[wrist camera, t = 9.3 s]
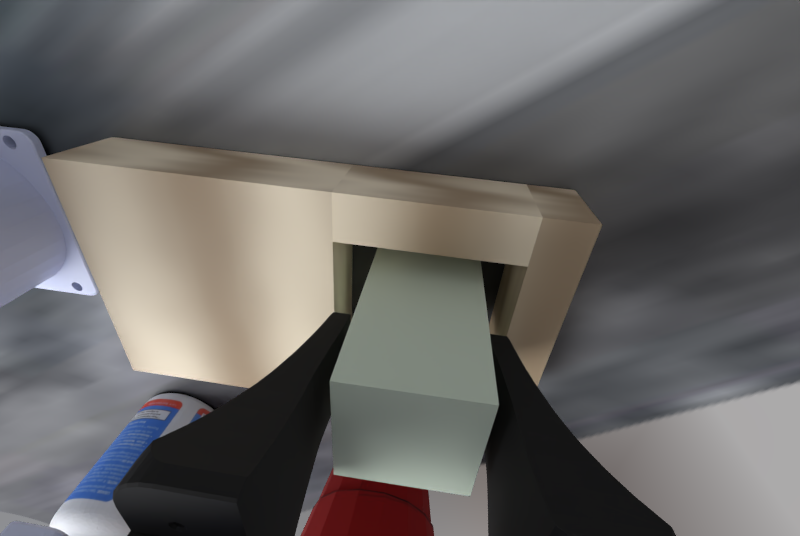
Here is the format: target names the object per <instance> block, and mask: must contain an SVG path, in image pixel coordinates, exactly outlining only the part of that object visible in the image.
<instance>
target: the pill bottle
mask: <svg viewBox="0 0 800 536" xmlns="http://www.w3.org/2000/svg"><path fill="white" fill-rule="evenodd" d="M212 411H213V409H212V408H211V407H210V406H208V405H207V404H205V403H203V402H202V401H200V400H198V399H196V398H193V397H190V396H187V395H183V394H178V393H165V394H160V395H157V396H154V397H152V398H151V399H150V400H148V401H147V402H146V403H145V405H144V406H143V407H142V408H141V409H140V410H139V411H138V413H137V414H136V415H135V416H134V418H133V419H132V420H131V421H130V422H129V424H128V425H127V426H126V427H125V429H124V430H123V431H122V432H121V433H120V435H119V436H118V437H117V438H116V440H115V441H114V442H113V443H112V444H111V446H110V447H109V448H108V449H107V451H106V452H105V453H104V454H103V455H102V457H101V458H100V459H99V460H98V462H97V463H96V464H95V465H94V466H93V468H92V469H91V470H90V471H89V473H88V474H87V475H86V476H85V477H84V479H83V480H82V481H81V482H80V484H79V485H78V486H77V487H76V489H75V490H74V491H73V492H72V493H71V495H70V496H69V497H68V498H67V500H66V501H65V502H64V503H63V505H62V506H61V507H60V508H59V510H58V511H57V512H56V514H55V515H54V517H53V519H52V520H51V523H50V527H52V528H56V529H59V530H61V531H63V532H65V533H66V534H67V535H68V536H127V535H128V534H129V532H130V531H131V530H130V528H129V527H128V525H127V524H126V522H125V521H124V519H123V518H122V516H121V515H120V513H119V512H118V510H117V508H116V507H115V504H114V502H113V491H114V489H115V488H116V487H117V485H118V484H119V483H120V481H121V480H122V479H123V477H124V476H125V475H126V473H127V472H128V471H129V469H130V468H131V466H132V465H133V464H134V462H135V461H136V460H137V459H138V457H139V456H140V455H141V454H142V452H143V451H144V450H145V449H146V448H147V447H148V446H149V445H150V443H151V442H152V441H153V440H155V439H157V438H160V437H162V436H164V435H166V434H168V433H170V432H173V431H175V430H177V429H179V428H181V427H183V426H185V425H188V424H190V423H191V422H193V421H195V420H197V419H199V418H201V417H203V416H205V415H206V414H208V413H210V412H212Z"/></svg>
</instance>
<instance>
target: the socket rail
mask: <svg viewBox="0 0 800 536" xmlns="http://www.w3.org/2000/svg"><path fill="white" fill-rule="evenodd" d="M42 160H43V163H44V165H45V167H46V170H47V172H48V174H49V176H50V179H51V181H52V183H53V186H54V188H55V190H56V193H57V195H58V197H59V200H60V202H61V204H62V206H63V209H64V211H65V213H66V216H67V218H68V220H69V223H70V225H71V227H72V230H73V232H74V234H75V236H76V239H77V241H78V243H79V246H80V248H81V250H82V253H83V255H84V257H85V260H86V262H87V264H88V266H89V269H90V271H91V273H92V276H93V278H94V280H95V283H96V285H97V287H98V289H99V292H100V294H101V296H102V299H103V301H104V303H105V306H106V308H107V310H108V313H109V315H110V317H111V319H112V322H113V324H114V326H115V329H116V331H117V333H118V336H119V338H120V340H121V343H122V345H123V347H124V349H125V352H126V354H127V356H128V359H129V361H130V363H131V366H132V368H133V370H136V371H142V372H149V373H155V374H162V375H168V376H174V377H181V378H187V379H194V380H200V381H207V382H213V383H219V384H226V385H232V386H239V387H245V388H250V387H252V386H253V385H255V384H256V383H257V382H259V381H260V380H261V379H263V378H264V377H265V376H267V375H268V374H269V373H270V372H272V371H273V370H274V369H275V368H277V367H278V366H279V365H280V364H281V363H282V362H284V361H285V360H286V359H287V358H288V357H289V356H290V355H292V354H293V353H294V352H295V351H296V350H297V349H298V348H299V347H300V346H301V345H302V344H303V343H304V342H305V341H306V340H307V339H308V338H309V337H310V336H311V335H312V334H313V333H314V332H315V331H316V330H317V329H318V328H319V327H320V326H321V325H322V324H323V323H324V322H325V320H326V319H327V318H328V317H329V316H330V315H331V314H332V313H333V312H338V313H345V314H351V320H352V257H353V244H354V245H362V246H370V247H378V248H385V249H393V250H401V251H409V252H416V253H424V254H432V255H440V256H448V257H455V258H463V259H471V260H479V261H487V262H494V263H502V264H505V267H504V271H503V275H502V278H501V282H500V286H499V290H498V293H497V297H496V301H495V305H494V308H493V312H492V316H491V320H490V323H489V330H490V334H495V335H502V336H507V337H508V338H509V339H510V341H511V343H512V345H513V347H514V349H515V350H516V352H517V354H518V356H519V358H520V359H521V361H522V363H523V365H524V366H525V368H526V370H527V371H528V373H529V375H530V376H531V378H532V379H533V381H534V382H535V384H536V385H537V386H538V383H539V381H540V378H541V376H542V373H543V371H544V368H545V366H546V363H547V361H548V359H549V356H550V354H551V351H552V349H553V346H554V344H555V341H556V339H557V336H558V334H559V331H560V329H561V326H562V324H563V321H564V319H565V316H566V314H567V311H568V309H569V306H570V304H571V301H572V299H573V296H574V294H575V291H576V289H577V287H578V284H579V282H580V279H581V277H582V274H583V272H584V269H585V267H586V264H587V262H588V259H589V257H590V254H591V252H592V249H593V247H594V244H595V242H596V239H597V237H598V234H599V232H600V229H601V227H602V224H601V222H600V221H599V220H598V219H597V217H596V216H595V215H594V213H593V212H592V211H591V210H590V208H589V207H588V206H587V205H586V203H585V202H584V201H583V200H582V198H581V197H580V196H579V195H578V193H577V192H576V191H575V190H571V189H562V188H553V187H544V186H536V185H527V184H518V183H509V182H501V181H492V180H483V179H475V178H466V177H457V176H448V175H440V174H431V173H422V172H413V171H405V170H396V169H387V168H378V167H370V166H361V165H352V164H343V163H335V162H326V161H317V160H309V159H300V158H291V157H282V156H274V155H265V154H256V153H247V152H239V151H230V150H221V149H212V148H204V147H195V146H186V145H178V144H169V143H160V142H151V141H143V140H134V139H125V138H116V137H110V138H107V139H103V140H100V141H96V142H93V143H90V144H86V145H83V146H79V147H76V148H72V149H69V150H66V151H62V152H59V153H55V154H52V155H48V156H45V157H42Z"/></svg>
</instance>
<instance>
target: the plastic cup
mask: <svg viewBox="0 0 800 536" xmlns="http://www.w3.org/2000/svg"><path fill="white" fill-rule="evenodd" d="M301 536H434V531H433V525H432V524H431V518H430V507H429V495H428V490H426V489H420V488H414V487H408V486H401V485H395V484H389V483H383V482H376V481H370V480H364V479H358V478H352V477H345V476H339V475H334V470H333V469H332V471H331V474H330V476H329V478H328V480H327V483H326V485H325V487H324V489H323V491H322V494H321V496H320V498H319V500H318V502H317V503H316V505H315V506H314V507H313V510H312V512H311V514H310V517H309V519H308V521H307V523H306V525H305V527H304V530H303V532H302V534H301Z"/></svg>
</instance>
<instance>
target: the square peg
mask: <svg viewBox="0 0 800 536" xmlns="http://www.w3.org/2000/svg"><path fill="white" fill-rule="evenodd" d="M330 403H331V425H332V448H333V470H334V475H339V476H345V477H352V478H358V479H364V480H370V481H376V482H383V483H389V484H395V485H401V486H408V487H414V488H420V489H426V490H432V491H439V492H445V493H451V494H457V495H464V496H470V495H471V492H472V489H473V486H474V483H475V479H476V476H477V473H478V470H479V467H480V464H481V461H482V457H483V454H484V451H485V448H486V445H487V442H488V439H489V436H490V432H491V429H492V426H493V423H494V420H495V417H496V414H497V410H498V407H499V401H498V393H497V385H496V378H495V370H494V362H493V354H492V346H491V338H490V330H489V322H488V314H487V306H486V299H485V291H484V283H483V275H482V267H481V261H479V260H471V259H463V258H455V257H448V256H440V255H432V254H424V253H416V252H409V251H401V250H393V249H385V248H377V251H376V254H375V257H374V259H373V262H372V265H371V268H370V270H369V273H368V276H367V279H366V282H365V284H364V287H363V290H362V293H361V295H360V298H359V301H358V304H357V306H356V309H355V312H354V315H353V317H352V320H351V323H350V326H349V329H348V331H347V334H346V337H345V340H344V342H343V345H342V348H341V351H340V353H339V356H338V359H337V362H336V365H335V367H334V370H333V373H332V376H331V378H330Z"/></svg>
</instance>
